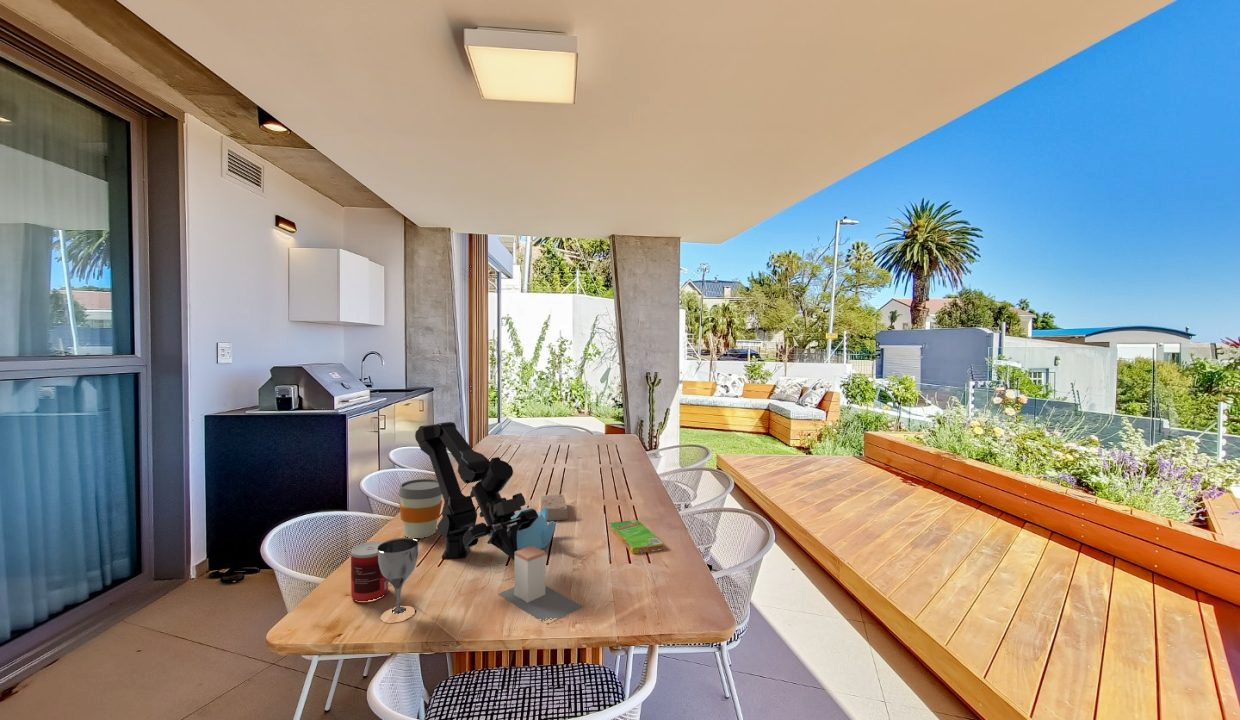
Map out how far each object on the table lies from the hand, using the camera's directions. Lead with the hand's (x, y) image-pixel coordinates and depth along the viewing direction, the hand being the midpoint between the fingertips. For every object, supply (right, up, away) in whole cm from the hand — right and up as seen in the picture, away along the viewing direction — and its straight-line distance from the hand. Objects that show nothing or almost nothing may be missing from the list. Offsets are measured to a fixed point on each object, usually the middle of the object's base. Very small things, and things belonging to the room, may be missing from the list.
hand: (516, 558), depth 116 cm
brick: (+2, -6, +53) cm, 54 cm away
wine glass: (-23, -7, -11) cm, 27 cm away
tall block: (+4, -7, -4) cm, 9 cm away
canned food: (-33, -7, -3) cm, 34 cm away
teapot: (-2, -7, +26) cm, 27 cm away
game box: (+29, -7, +31) cm, 44 cm away
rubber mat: (+7, -7, -6) cm, 12 cm away
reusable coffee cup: (-36, -6, +33) cm, 50 cm away
